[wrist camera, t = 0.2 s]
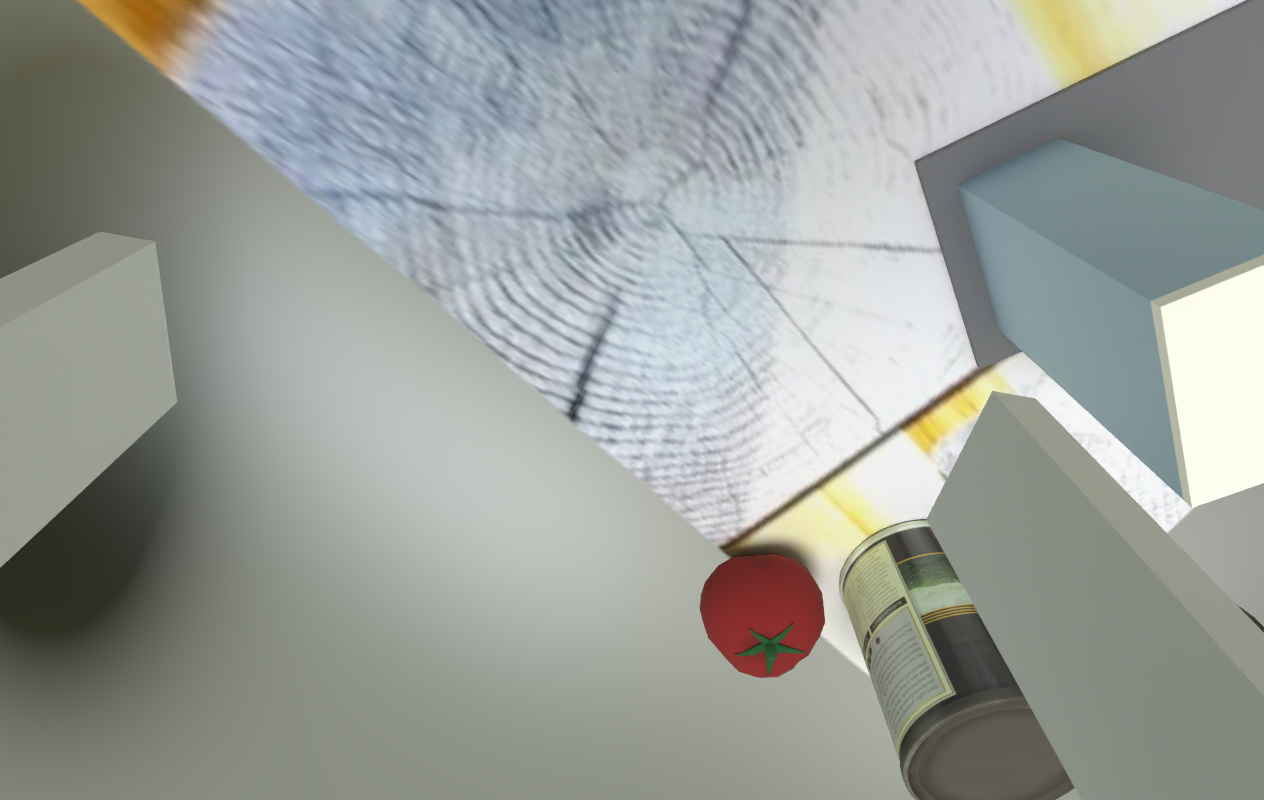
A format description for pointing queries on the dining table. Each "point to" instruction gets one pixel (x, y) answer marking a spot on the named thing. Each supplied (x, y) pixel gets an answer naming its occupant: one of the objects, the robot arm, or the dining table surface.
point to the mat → (1120, 139)
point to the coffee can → (943, 676)
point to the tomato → (762, 613)
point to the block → (1133, 305)
